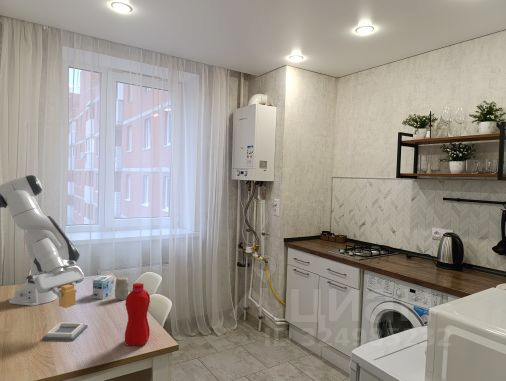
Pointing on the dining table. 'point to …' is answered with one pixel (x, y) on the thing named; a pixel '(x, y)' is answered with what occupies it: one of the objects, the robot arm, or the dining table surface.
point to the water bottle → (137, 316)
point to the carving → (121, 288)
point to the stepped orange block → (67, 296)
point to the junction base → (65, 332)
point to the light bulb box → (103, 286)
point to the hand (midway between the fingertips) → (68, 294)
